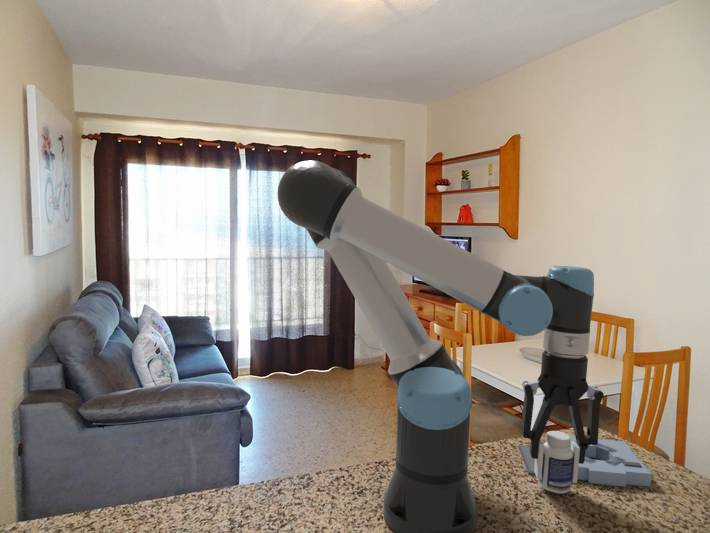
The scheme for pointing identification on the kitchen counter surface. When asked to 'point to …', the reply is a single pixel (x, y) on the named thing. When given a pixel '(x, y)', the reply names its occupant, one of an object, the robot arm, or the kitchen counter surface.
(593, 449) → the dock
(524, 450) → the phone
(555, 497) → the kitchen counter surface
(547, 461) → the pill bottle
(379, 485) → the kitchen counter surface
